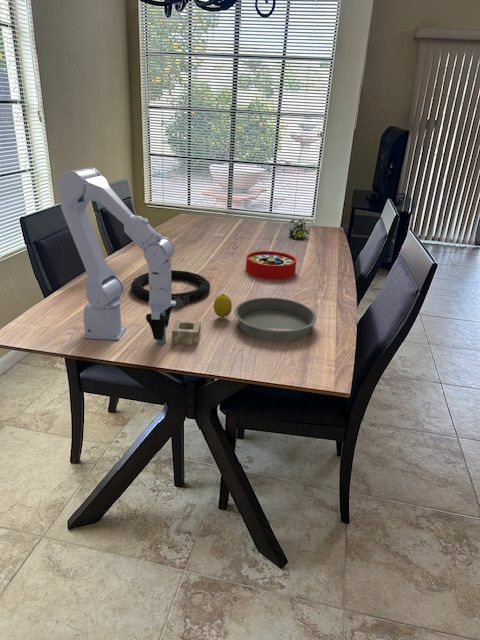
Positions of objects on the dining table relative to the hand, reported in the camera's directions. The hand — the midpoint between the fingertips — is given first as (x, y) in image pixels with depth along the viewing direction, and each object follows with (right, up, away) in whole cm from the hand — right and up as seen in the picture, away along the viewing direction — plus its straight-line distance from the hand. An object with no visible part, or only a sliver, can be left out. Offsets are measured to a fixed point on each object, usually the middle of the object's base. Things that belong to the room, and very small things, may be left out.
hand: (161, 332), depth 125 cm
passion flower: (+52, +47, +116) cm, 136 cm away
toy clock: (+34, +23, +62) cm, 74 cm away
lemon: (+16, +4, +18) cm, 24 cm away
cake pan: (+32, +1, +15) cm, 35 cm away
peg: (0, -3, +1) cm, 3 cm away
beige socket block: (+6, -2, +4) cm, 8 cm away
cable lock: (-3, +13, +37) cm, 39 cm away
